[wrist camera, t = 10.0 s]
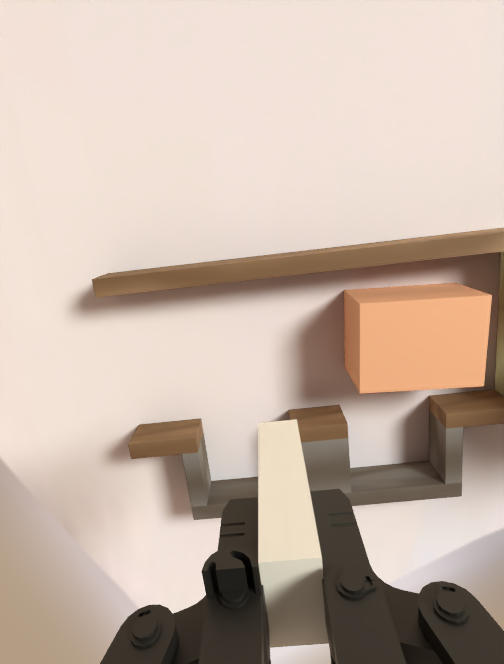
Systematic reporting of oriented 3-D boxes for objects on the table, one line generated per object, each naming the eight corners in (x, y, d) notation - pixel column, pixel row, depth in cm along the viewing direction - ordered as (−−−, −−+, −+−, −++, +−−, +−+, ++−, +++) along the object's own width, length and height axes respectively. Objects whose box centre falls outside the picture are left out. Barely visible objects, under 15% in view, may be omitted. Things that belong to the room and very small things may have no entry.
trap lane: (107, 273, 30) (85, 281, 26) (519, 225, 29) (560, 227, 25) (154, 498, 35) (142, 533, 31) (506, 466, 34) (538, 498, 30)
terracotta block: (343, 289, 30) (360, 303, 25) (454, 282, 30) (491, 295, 25) (344, 366, 32) (360, 393, 27) (449, 360, 32) (483, 386, 27)
